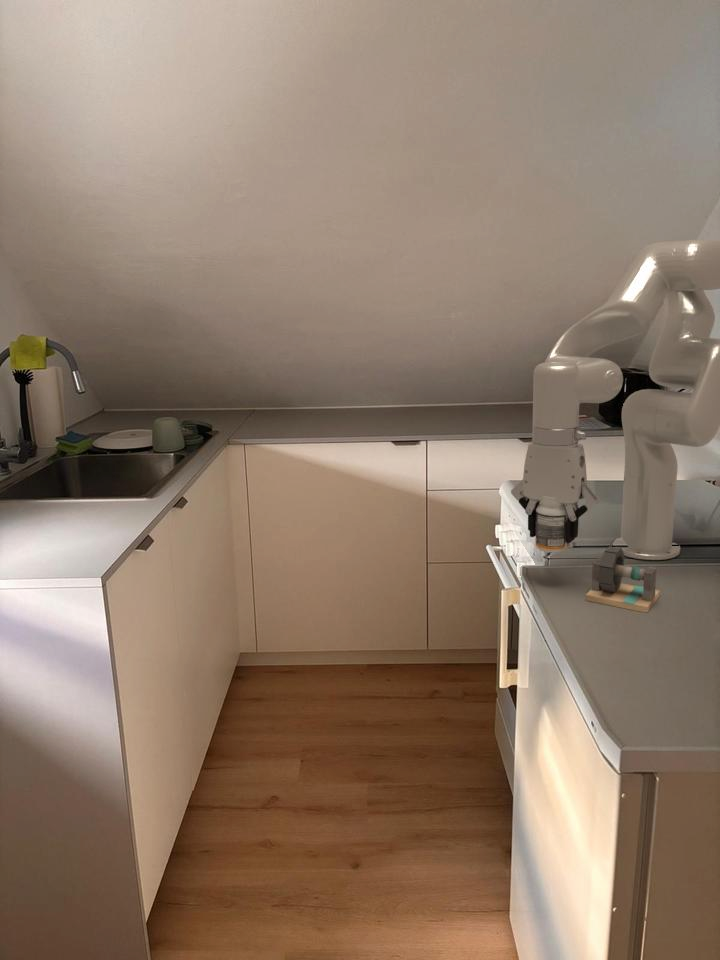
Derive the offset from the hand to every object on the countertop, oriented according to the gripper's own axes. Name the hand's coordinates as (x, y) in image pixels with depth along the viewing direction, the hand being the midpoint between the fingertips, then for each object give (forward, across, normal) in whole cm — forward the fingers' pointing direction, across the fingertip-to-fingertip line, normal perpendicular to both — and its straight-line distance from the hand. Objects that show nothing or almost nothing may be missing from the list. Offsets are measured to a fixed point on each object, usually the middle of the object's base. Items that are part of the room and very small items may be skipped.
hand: (552, 536), depth 134 cm
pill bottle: (+2, 0, 0) cm, 2 cm away
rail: (+9, -13, 0) cm, 15 cm away
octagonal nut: (+7, -11, 0) cm, 13 cm away
